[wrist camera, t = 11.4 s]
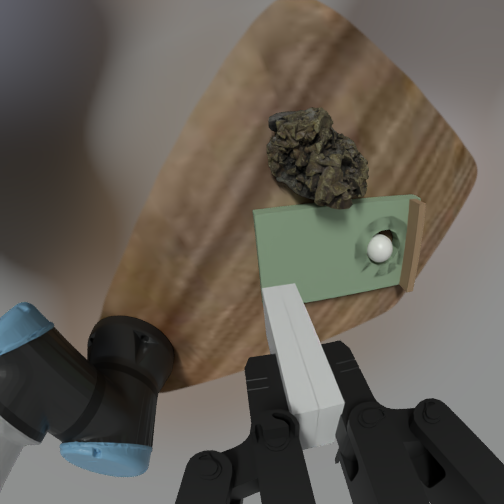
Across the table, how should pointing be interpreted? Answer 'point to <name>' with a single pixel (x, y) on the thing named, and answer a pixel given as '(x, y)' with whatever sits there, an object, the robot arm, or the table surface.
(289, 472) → the robot arm
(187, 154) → the table surface
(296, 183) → the rock
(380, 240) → the ball
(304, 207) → the green
